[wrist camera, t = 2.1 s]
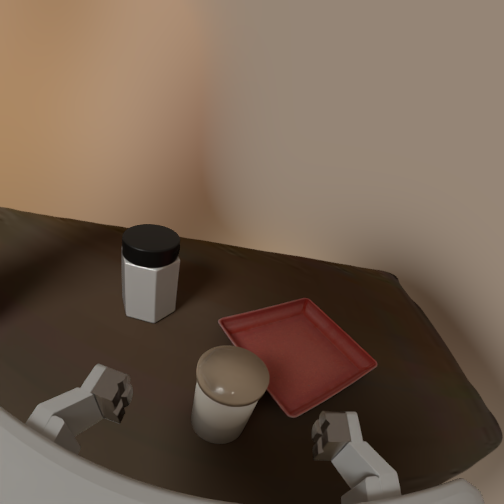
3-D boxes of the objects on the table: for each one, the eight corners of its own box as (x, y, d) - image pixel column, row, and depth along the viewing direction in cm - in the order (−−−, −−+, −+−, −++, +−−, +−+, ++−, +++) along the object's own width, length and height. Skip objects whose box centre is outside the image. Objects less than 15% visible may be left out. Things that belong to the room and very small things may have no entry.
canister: (181, 433, 25) (186, 387, 20) (199, 392, 30) (209, 337, 26) (238, 452, 24) (263, 411, 20) (250, 408, 30) (273, 357, 25)
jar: (180, 320, 41) (189, 251, 35) (127, 326, 36) (125, 254, 31) (165, 285, 47) (172, 222, 42) (120, 289, 43) (120, 223, 38)
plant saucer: (283, 431, 28) (292, 419, 27) (212, 333, 41) (216, 317, 39) (369, 377, 38) (380, 363, 37) (301, 310, 51) (307, 296, 49)
